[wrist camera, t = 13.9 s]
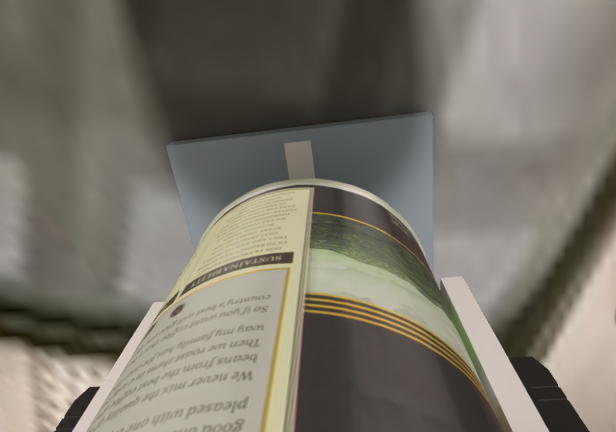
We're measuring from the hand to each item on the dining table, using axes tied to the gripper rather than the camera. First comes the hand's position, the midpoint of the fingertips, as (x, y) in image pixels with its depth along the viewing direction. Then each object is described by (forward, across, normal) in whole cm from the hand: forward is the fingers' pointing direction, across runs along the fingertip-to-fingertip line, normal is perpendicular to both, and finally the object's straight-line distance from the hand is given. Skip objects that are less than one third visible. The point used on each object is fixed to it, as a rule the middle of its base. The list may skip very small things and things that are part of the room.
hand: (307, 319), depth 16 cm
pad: (+6, 0, 0) cm, 6 cm away
